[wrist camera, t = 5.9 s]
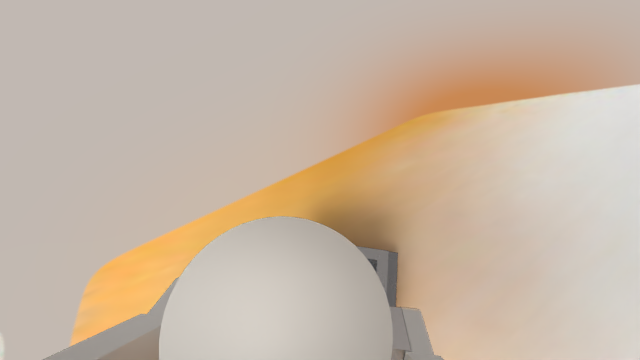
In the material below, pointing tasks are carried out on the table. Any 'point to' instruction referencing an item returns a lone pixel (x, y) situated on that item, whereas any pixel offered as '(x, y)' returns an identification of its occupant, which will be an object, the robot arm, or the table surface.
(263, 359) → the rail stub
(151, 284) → the table surface
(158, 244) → the table surface
